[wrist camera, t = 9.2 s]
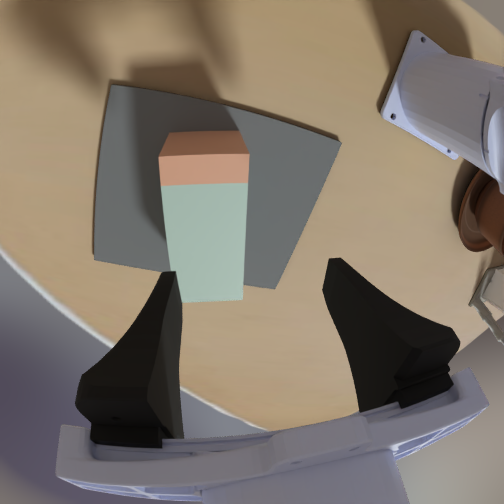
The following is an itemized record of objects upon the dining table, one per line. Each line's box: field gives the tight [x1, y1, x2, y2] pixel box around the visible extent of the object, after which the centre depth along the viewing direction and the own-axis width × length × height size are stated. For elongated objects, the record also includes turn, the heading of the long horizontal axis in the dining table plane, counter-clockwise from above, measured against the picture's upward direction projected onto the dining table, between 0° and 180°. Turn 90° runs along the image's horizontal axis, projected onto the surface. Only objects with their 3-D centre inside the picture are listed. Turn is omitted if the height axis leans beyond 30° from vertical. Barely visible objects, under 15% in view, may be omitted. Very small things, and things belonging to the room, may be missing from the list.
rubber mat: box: [94, 84, 342, 289], centre depth 21 cm, size 16×14×1 cm
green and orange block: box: [159, 131, 250, 303], centre depth 19 cm, size 10×4×5 cm, turn 177°
